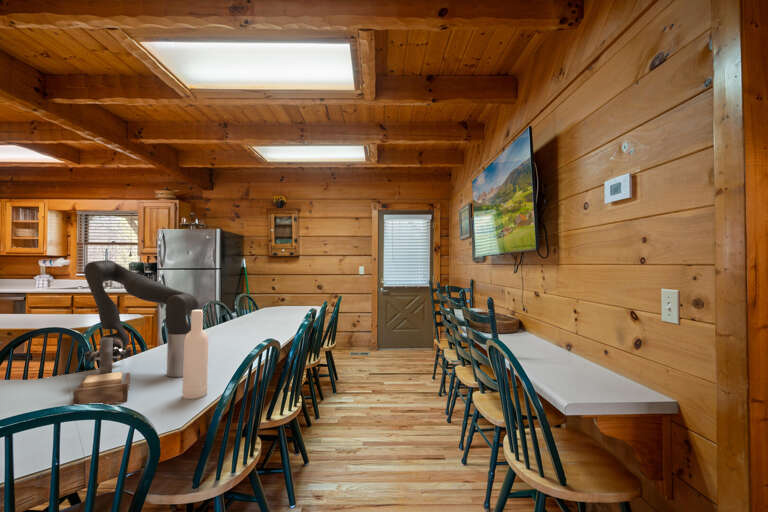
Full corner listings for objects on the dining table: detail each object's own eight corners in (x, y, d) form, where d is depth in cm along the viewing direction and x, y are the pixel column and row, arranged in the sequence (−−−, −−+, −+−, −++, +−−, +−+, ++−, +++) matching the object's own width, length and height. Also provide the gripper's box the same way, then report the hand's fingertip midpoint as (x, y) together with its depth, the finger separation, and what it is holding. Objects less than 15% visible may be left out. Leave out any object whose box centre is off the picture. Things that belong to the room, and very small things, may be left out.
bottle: (194, 400, 128) (196, 312, 128) (176, 397, 131) (179, 310, 131) (212, 393, 135) (214, 309, 136) (195, 390, 138) (197, 308, 139)
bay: (129, 384, 143) (130, 368, 143) (127, 401, 126) (127, 383, 126) (82, 390, 135) (83, 373, 135) (73, 409, 118) (73, 390, 119)
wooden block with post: (122, 385, 138) (124, 336, 138) (120, 396, 127) (122, 343, 128) (87, 390, 133) (89, 338, 133) (82, 401, 122) (84, 346, 122)
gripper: (89, 341, 149) (83, 349, 135) (132, 338, 156) (130, 345, 142) (88, 360, 149) (82, 370, 135) (132, 356, 156) (130, 365, 142)
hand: (107, 358), depth 139 cm, fingers open, 8 cm apart
